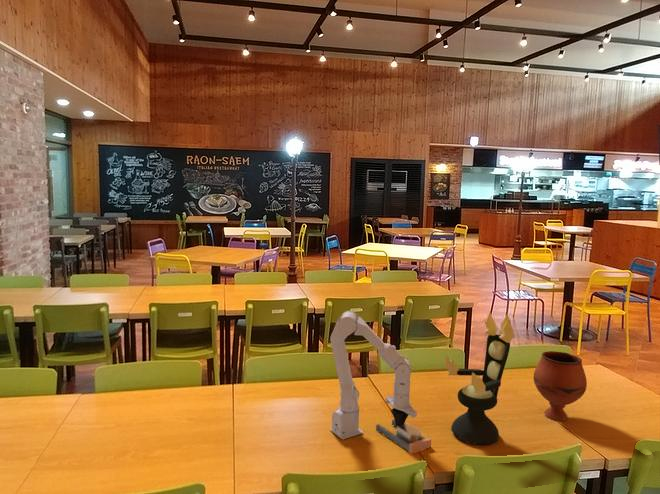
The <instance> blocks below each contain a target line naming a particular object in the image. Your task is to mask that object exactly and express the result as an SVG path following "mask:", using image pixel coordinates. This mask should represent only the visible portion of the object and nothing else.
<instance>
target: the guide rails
mask: <svg viewBox="0 0 660 494" xmlns="http://www.w3.org/2000/svg"><path fill="white" fill-rule="evenodd" d="M392 425H394V426H395V427H396V423H395V419H392V420H391V426H392ZM394 426H393V427H394ZM395 427H394V428H395ZM377 430H378V431H379V432H378V431H377ZM375 431H377V432H378V433H380V432H381V433H382V434H381V433H380V434H381V435H383V434H384V435H385V436H384V435H383V436H384V437H386V436H387V437H388V438H387V437H386V438H387V439H389V438H390V439H391V440H390V439H389V440H390V441H392V440H393V441H394V442H393V441H392V442H393V443H395V442H396V443H397V444H396V443H395V444H396V445H398V444H399V445H400V446H399V445H398V446H399V447H401V446H402V447H403V448H402V447H401V448H402V449H404V448H405V449H406V450H408V451H409V452H410V453H409V452H408V451H407V452H408V453H409V454H411V453H414V454H416V453H415V452H417V451H419V452H421V451H420V450H422V449H425V448H428V447H430V446H431V447H432V438H430V437H426V438H425V437H424V436H422V435H421V440H419V441H416V442H413V443H410V444H409V443H407V442H405V441H404V440H402V439H401V438H399V437H398V436H396V434H394V433H393V432H392V431H390V429H387V428H385V427H384V426H382V425H381V424H380V423H379V424H376V426H375ZM405 449H404V450H405ZM428 449H429V448H428ZM406 450H405V451H406ZM425 450H426V449H425ZM422 451H423V450H422ZM417 453H418V452H417Z"/></svg>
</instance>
